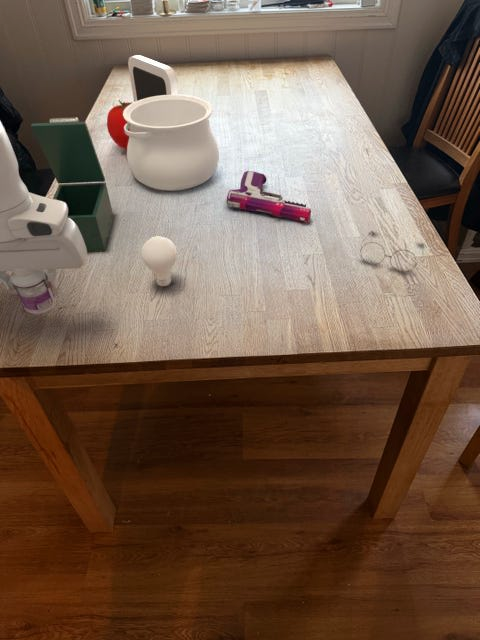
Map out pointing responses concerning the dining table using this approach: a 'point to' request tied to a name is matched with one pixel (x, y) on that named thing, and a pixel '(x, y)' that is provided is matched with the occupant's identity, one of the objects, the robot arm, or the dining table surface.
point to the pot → (171, 141)
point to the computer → (151, 78)
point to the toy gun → (264, 199)
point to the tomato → (118, 125)
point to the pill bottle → (33, 290)
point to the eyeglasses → (386, 255)
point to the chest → (88, 211)
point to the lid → (69, 150)
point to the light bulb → (160, 258)
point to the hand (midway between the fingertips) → (33, 286)
